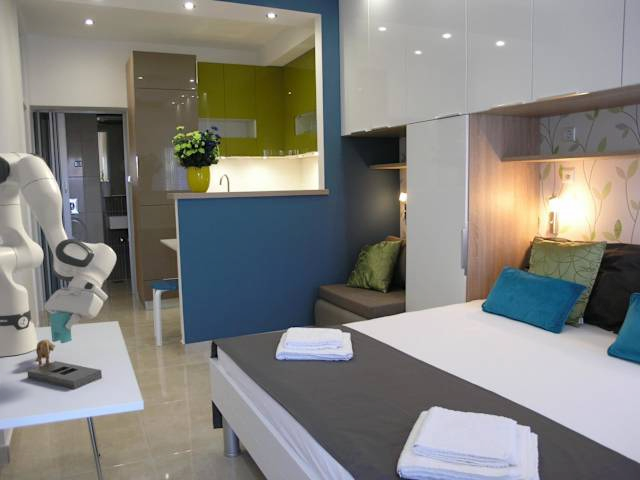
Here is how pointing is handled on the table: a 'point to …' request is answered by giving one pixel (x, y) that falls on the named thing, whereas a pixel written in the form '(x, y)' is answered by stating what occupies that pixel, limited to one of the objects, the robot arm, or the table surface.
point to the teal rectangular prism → (60, 327)
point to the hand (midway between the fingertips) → (58, 327)
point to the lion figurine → (44, 351)
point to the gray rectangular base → (64, 374)
